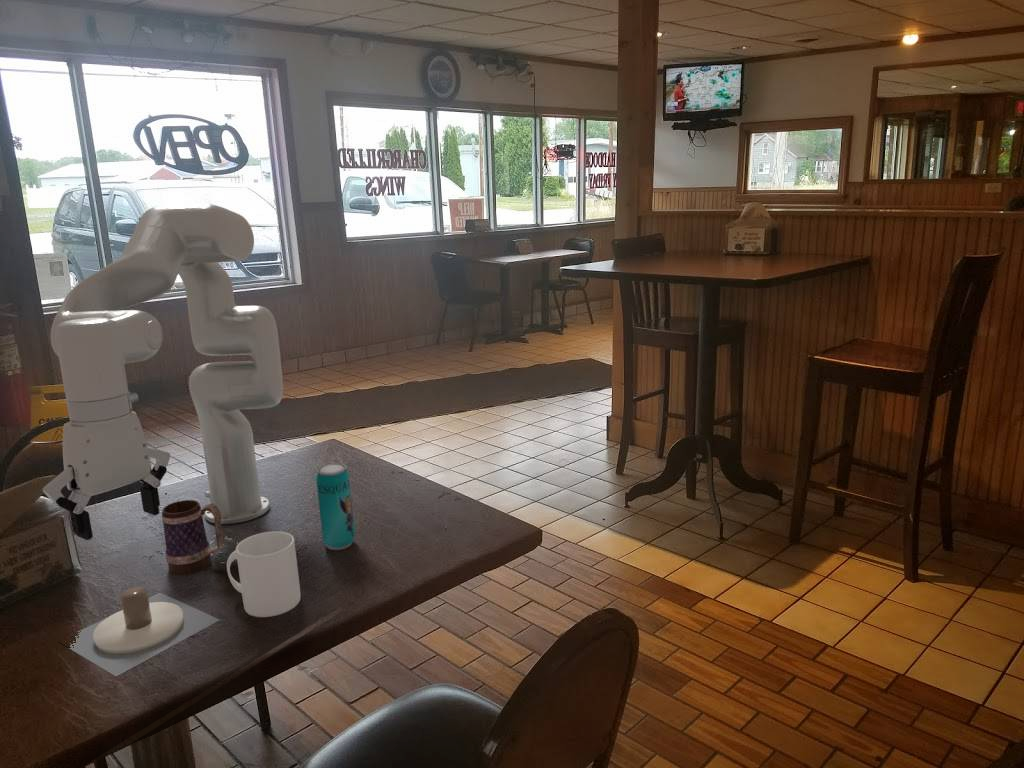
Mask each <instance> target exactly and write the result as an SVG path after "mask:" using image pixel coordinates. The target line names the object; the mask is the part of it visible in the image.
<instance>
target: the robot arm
mask: <svg viewBox="0 0 1024 768" xmlns="http://www.w3.org/2000/svg"><path fill="white" fill-rule="evenodd" d="M254 246H255V238H254V233H253V228H252V226H251V224H250V223H249V221H248V220H247V219H246V218H245V217H244V216H243V215H241V214H240V213H237V212H235V211H232V210H229V209H228V208H225V207H222V206H220V205H216V204H212V203H192V204H191V203H190V204H189V203H188V204H185V203H184V204H165V205H164V204H163V205H157V206H154V207H151V208H149V209H147V210H145V211H144V213H143V214H141V217H140V218H139V220H138V222H137V224H136V225H135V228H134V230H133V231H132V234H131V236H130V238H129V239H128V241H127V244H126V246H125V248H124V250H123V251H122V253H121V255H120V257H119V259H116V260H115V261H113V262H110V263H109V264H107V265H106V266H104V267H102V268H101V269H99V270H98V271H96V272H94V273H92V274H90V275H89V276H88V277H86V278H84V279H83V280H82V281H80V282H79V283H78V284H76V285H75V286H74V287H73V288H72V289H71V290H70V291H69V292H68V293H67V294H66V296H65V297H64V299H63V301H62V303H61V305H60V307H59V308H58V311H57V312H56V315H55V316H54V319H53V321H52V325H51V329H50V344H51V348H52V349H53V352H54V354H55V355H56V356H57V357H58V360H59V366H60V372H61V377H62V382H63V383H62V384H63V389H64V395H65V400H66V406H67V411H68V412H67V413H68V417H69V418H68V419H69V421H68V422H66V423H64V424H63V429H62V461H63V463H62V464H63V471H61V472H60V473H59V474H58V475H56V476H55V477H54V478H53V479H51V481H49V482H48V483H47V484H46V485H45V486H44V487H43V488H42V492H43V494H44V495H46V496H47V498H48V499H49V500H50V501H52V503H53V504H54V505H56V506H58V507H60V508H62V509H64V510H66V511H68V513H69V518H70V522H71V528H72V532H73V534H74V535H76V536H77V538H78V537H79V538H81V539H83V540H86V541H90V540H91V539H93V537H94V535H93V530H92V524H91V518H90V513H89V511H86V510H85V508H86V507H87V505H88V503H89V502H90V499H91V497H92V496H97V495H100V494H103V493H107V492H110V491H113V490H115V489H119V488H122V487H126V486H128V485H131V484H134V483H137V482H140V483H142V485H140V488H139V492H140V497H141V503H142V510H143V512H144V513H147V514H150V515H153V516H157V515H159V514H160V508H159V507H160V505H161V502H160V495H159V487H161V484H162V483H161V481H162V479H163V478H164V476H165V474H166V473H167V472H168V471H167V470H168V469H167V466H168V465H169V462H170V459H171V453H170V452H168V451H164V450H159V449H155V448H152V447H151V448H150V447H149V446H148V443H147V439H146V436H145V432H144V430H143V429H144V428H143V426H142V424H141V422H140V419H139V417H138V415H137V413H136V411H133V404H134V403H136V402H138V401H139V395H138V393H137V392H131V391H129V387H128V381H127V380H128V379H127V374H126V369H125V365H126V364H129V363H130V364H131V363H138V362H139V363H140V362H144V361H147V360H149V359H150V358H152V357H154V356H155V355H156V354H157V353H158V352H159V350H160V349H161V346H162V344H163V337H164V336H163V335H164V334H163V333H164V332H163V328H162V325H161V323H160V322H159V321H158V319H157V318H156V317H155V316H154V315H153V314H151V313H149V312H147V311H143V310H138V309H127V308H129V307H133V306H136V305H140V304H143V303H146V302H149V301H150V300H153V299H156V298H158V297H161V296H163V295H165V294H167V293H168V292H169V291H170V290H172V288H173V286H174V284H175V283H176V281H177V280H176V279H177V278H178V275H179V277H180V279H181V282H182V284H183V285H184V290H185V294H186V301H187V311H188V319H189V326H190V327H189V328H190V334H191V335H190V336H191V340H192V344H193V347H194V349H195V351H197V352H198V353H199V354H201V355H204V356H211V357H212V356H215V357H217V356H238V355H239V356H240V355H242V356H243V355H245V356H246V355H249V356H250V357H251V358H252V360H244V361H233V360H232V361H217V362H216V361H215V362H209V363H204V364H201V365H199V366H197V367H196V368H194V369H193V370H192V372H191V373H190V376H189V379H188V388H189V394H190V398H191V399H192V402H193V405H194V409H195V411H196V415H197V419H198V423H199V426H200V427H199V428H200V434H201V440H202V446H203V453H204V460H205V467H206V473H207V481H208V487H209V490H206V491H205V492H204V497H205V498H208V499H209V501H210V503H209V504H212V503H213V504H214V505H216V506H217V507H218V509H219V511H220V513H221V525H231V524H240V523H244V522H247V521H251V520H254V519H256V518H259V517H260V516H263V515H264V514H267V512H268V511H269V509H270V501H269V499H268V498H266V497H264V496H261V491H260V490H261V489H260V482H259V475H258V474H259V473H258V466H257V459H256V449H255V443H254V435H253V429H252V426H251V423H250V421H249V420H248V419H247V417H246V416H245V415H244V414H243V412H241V410H257V409H258V410H259V409H268V408H269V409H270V408H273V407H276V406H277V405H279V404H280V402H281V401H282V398H283V394H284V382H283V381H284V380H283V371H282V370H283V369H282V359H281V350H280V341H279V332H278V325H277V322H276V319H275V317H274V315H273V313H272V312H271V310H269V309H268V308H267V307H266V306H262V305H237V304H236V302H235V296H234V289H233V281H232V279H231V277H230V275H229V274H228V272H227V271H226V270H225V268H224V267H223V265H221V264H220V263H229V262H230V263H231V262H244V261H245V260H247V259H248V258H249V257H250V256H251V255H252V253H253V250H254ZM124 309H125V310H124ZM151 458H153V459H155V465H153V467H152V463H151ZM64 487H67V489H68V491H71V493H70V495H69V496H68V498H66V497H65V496H64V495H63V493H62V489H63V488H64ZM204 517H205V520H206V521H208V522H210V523H212V524H215V518H214V516H213V514H212V513H211V512H209V511H206V512H205V514H204Z"/></svg>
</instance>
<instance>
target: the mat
mask: <svg viewBox="0 0 1024 768" xmlns="http://www.w3.org/2000/svg"><path fill="white" fill-rule="evenodd" d="M148 600H149V603H151V602H168V603H173V604H176V605H178V606H179V607H180V608H181V609H182V611H183V617H184V623H183V626H182V627H181V629H180V630H179V631H178V632H177V633H176V634H175V635H174V636H172V637H171V638H169V639H168V640H166V641H164V642H163V643H161V644H159V645H156V646H154V647H151V648H149V649H146V650H142V651H138V652H134V653H128V654H108V653H104V652H101V651H99V650H98V649H97V648H96V647H95V644H94V639H93V633H94V630H95V629H96V627H97V626H98V625H99V624H100V623H101V622H102V621H103V620H105V619H106V618H108V617H109V616H107V617H106V618H104V619H101V620H100V621H97V622H95V623H93V624H90V625H89V626H87V627H84V628H82V629H80V630H78V631H77V632H80V631H81V632H80V633H78V634H79V635H78V636H79V638H77V637H78V636H75V637H76V643H73V644H71V643H70V644H71V645H70V647H71V648H68V649H69V650H70V649H71V651H72V652H74V653H75V654H77V655H79V656H81V657H82V658H84V659H85V660H87V661H89V662H90V663H92V664H94V665H96V666H97V667H99V668H101V669H102V670H104V671H106V672H107V673H109V674H111V675H112V676H114V677H115V678H116V677H118V676H121V675H122V674H124V673H126V672H128V671H130V670H132V669H134V668H135V667H136V666H139V665H141V664H143V663H145V662H146V661H149V660H150V659H152V658H153V657H155V656H157V655H159V654H161V653H163V652H164V651H166V650H168V649H170V648H172V647H174V646H176V645H177V644H179V643H181V642H183V641H185V640H187V639H188V638H190V637H192V636H193V635H195V634H197V633H200V632H202V631H203V630H205V629H207V628H209V627H211V626H212V625H214V624H216V623H217V622H219V621H221V619H219V618H217V617H214V616H213V615H211V614H208V613H206V612H203V611H202V610H199V609H197V608H195V607H193V606H191V605H189V604H187V603H184V602H182V601H180V600H178V599H175V598H173V597H171V596H169V595H166V594H165V593H162V592H158V593H155V594H154V595H152V596H150V597H148ZM73 642H75V641H73ZM72 645H74V646H72ZM73 647H74V648H73Z"/></svg>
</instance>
